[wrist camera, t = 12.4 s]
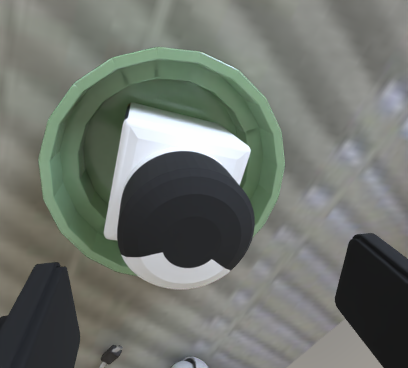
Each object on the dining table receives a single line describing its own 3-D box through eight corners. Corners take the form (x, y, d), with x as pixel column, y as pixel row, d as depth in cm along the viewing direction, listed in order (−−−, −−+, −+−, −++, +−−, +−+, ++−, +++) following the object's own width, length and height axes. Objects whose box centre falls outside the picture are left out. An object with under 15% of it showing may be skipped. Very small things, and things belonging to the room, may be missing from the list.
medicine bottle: (128, 100, 21) (117, 141, 10) (221, 123, 23) (297, 179, 12) (112, 191, 23) (88, 306, 12) (198, 204, 25) (243, 313, 14)
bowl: (289, 140, 25) (326, 159, 20) (178, 263, 28) (187, 307, 23) (145, 0, 19) (148, -23, 14) (20, 173, 22) (-15, 207, 17)
